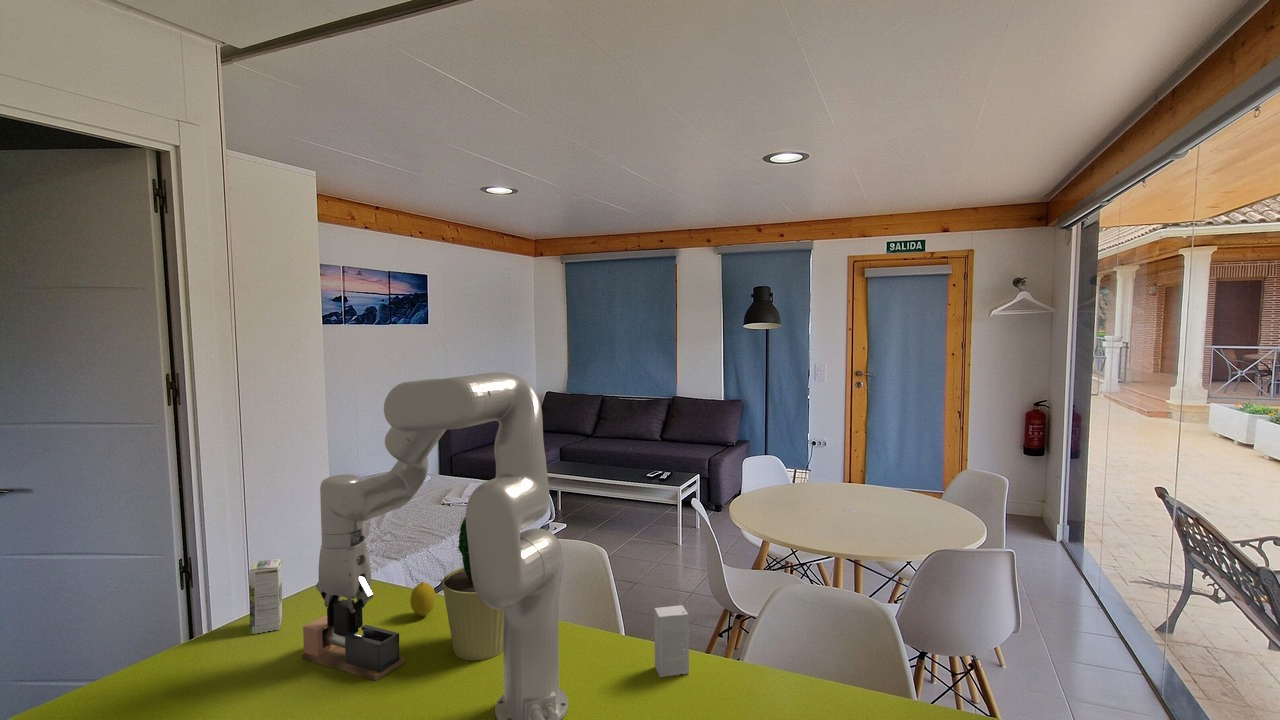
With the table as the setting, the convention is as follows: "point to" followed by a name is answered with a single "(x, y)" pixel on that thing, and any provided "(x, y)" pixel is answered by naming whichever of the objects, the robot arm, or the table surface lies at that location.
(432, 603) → the lemon
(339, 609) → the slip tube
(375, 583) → the table surface
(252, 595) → the syrup box
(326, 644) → the socket block
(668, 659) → the skincare box
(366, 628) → the dark grey open box
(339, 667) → the base board
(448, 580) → the potted cactus
